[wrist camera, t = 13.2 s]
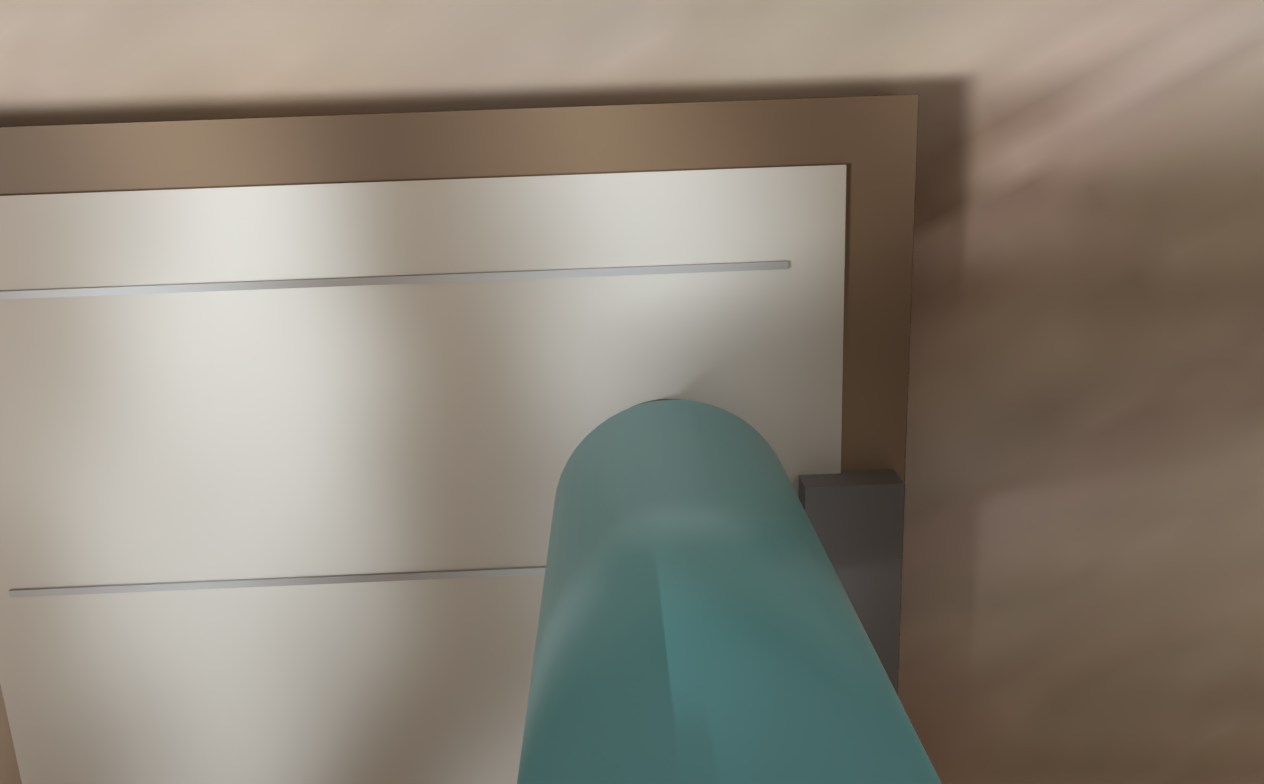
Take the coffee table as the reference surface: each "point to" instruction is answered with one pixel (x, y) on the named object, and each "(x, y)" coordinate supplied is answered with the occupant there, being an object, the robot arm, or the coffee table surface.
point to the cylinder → (700, 622)
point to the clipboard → (403, 406)
